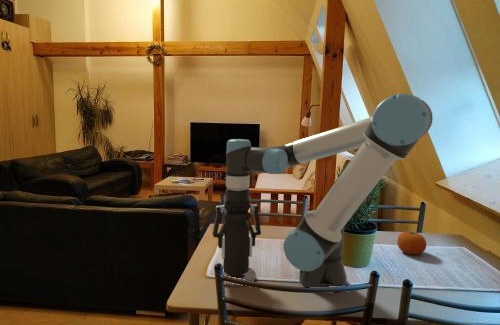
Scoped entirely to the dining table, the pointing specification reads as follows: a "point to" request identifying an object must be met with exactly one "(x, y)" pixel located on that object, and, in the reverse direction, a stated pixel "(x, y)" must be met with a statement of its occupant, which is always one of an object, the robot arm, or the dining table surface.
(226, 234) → the container
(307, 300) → the dining table surface
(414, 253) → the fruit
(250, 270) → the flange plate
